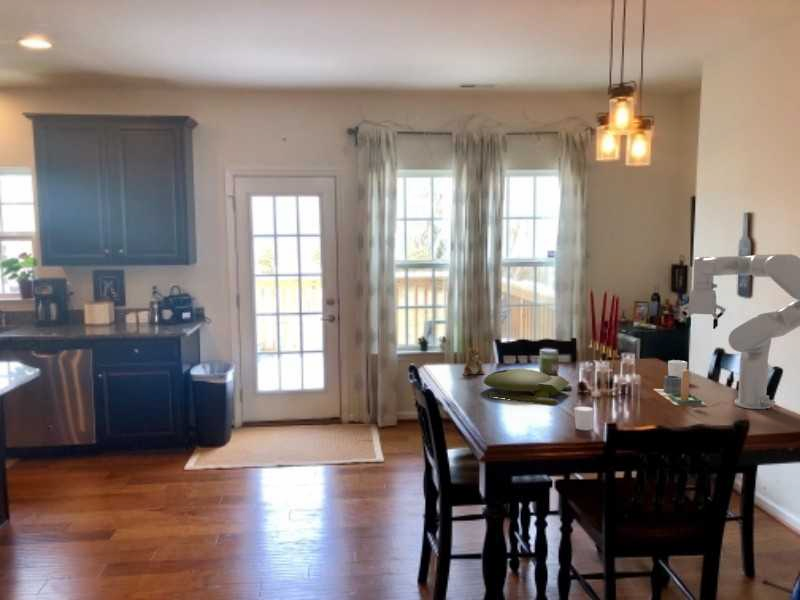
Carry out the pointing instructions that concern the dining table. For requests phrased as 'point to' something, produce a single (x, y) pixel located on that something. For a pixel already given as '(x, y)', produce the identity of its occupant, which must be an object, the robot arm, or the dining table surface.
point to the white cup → (676, 367)
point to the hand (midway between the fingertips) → (701, 327)
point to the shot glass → (584, 417)
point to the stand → (677, 392)
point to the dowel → (685, 385)
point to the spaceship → (526, 385)
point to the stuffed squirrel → (474, 362)
